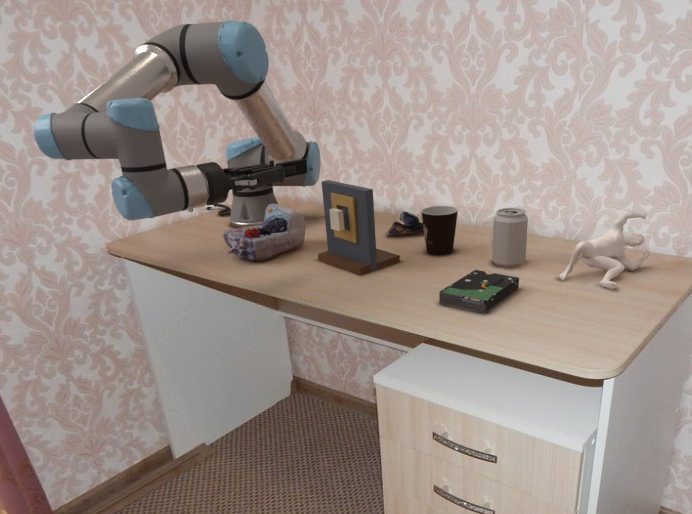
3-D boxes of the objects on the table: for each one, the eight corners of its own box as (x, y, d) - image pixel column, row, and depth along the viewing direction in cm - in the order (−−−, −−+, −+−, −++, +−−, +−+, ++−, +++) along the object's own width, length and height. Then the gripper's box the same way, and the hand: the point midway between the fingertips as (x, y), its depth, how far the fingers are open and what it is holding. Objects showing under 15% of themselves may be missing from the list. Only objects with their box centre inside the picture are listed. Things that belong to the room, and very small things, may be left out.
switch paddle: (339, 231, 139) (337, 211, 137) (331, 228, 142) (329, 209, 139) (344, 229, 140) (342, 210, 138) (335, 227, 142) (334, 208, 140)
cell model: (309, 204, 154) (244, 224, 142) (314, 246, 160) (252, 269, 147) (275, 197, 162) (210, 216, 149) (281, 237, 167) (219, 259, 155)
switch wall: (360, 275, 139) (354, 193, 131) (318, 260, 150) (310, 183, 141) (400, 261, 146) (397, 183, 137) (357, 248, 157) (351, 174, 148)
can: (526, 258, 144) (529, 206, 138) (523, 269, 138) (527, 215, 132) (494, 257, 146) (495, 205, 140) (489, 267, 140) (491, 214, 134)
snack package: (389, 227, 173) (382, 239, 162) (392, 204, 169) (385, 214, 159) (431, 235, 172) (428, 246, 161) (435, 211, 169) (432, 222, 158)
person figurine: (608, 239, 119) (646, 202, 129) (549, 242, 127) (588, 208, 138) (619, 300, 124) (654, 260, 134) (562, 299, 133) (599, 262, 143)
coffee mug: (455, 257, 147) (455, 215, 142) (419, 256, 149) (418, 215, 144) (460, 242, 157) (460, 202, 152) (426, 242, 159) (426, 202, 154)
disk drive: (474, 281, 133) (438, 304, 122) (474, 269, 131) (438, 291, 121) (519, 290, 127) (486, 314, 117) (520, 276, 126) (486, 300, 116)
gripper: (189, 201, 122) (289, 180, 136) (221, 211, 114) (325, 188, 127) (181, 161, 119) (285, 144, 132) (213, 168, 110) (321, 149, 123)
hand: (304, 166), depth 130 cm, fingers closed
